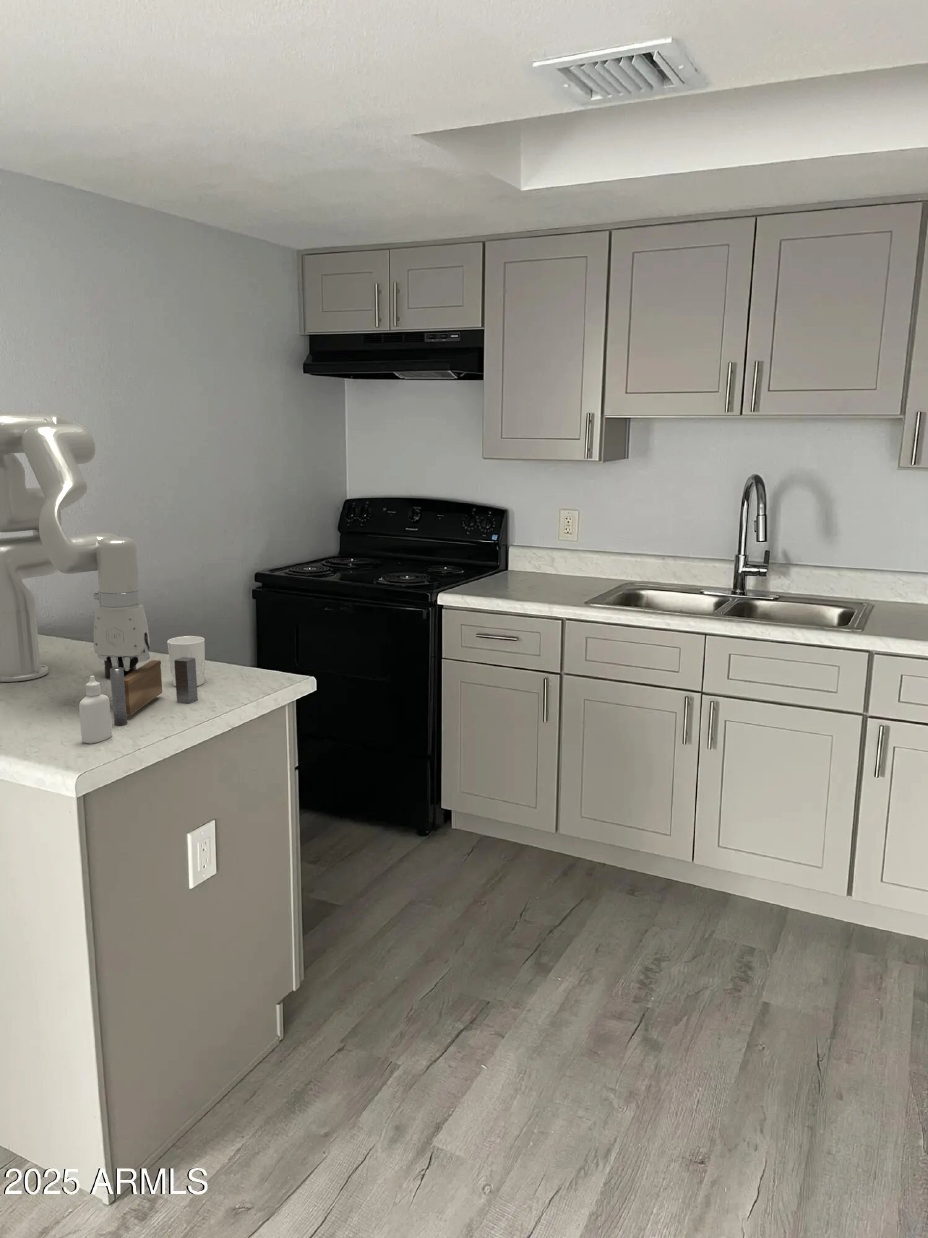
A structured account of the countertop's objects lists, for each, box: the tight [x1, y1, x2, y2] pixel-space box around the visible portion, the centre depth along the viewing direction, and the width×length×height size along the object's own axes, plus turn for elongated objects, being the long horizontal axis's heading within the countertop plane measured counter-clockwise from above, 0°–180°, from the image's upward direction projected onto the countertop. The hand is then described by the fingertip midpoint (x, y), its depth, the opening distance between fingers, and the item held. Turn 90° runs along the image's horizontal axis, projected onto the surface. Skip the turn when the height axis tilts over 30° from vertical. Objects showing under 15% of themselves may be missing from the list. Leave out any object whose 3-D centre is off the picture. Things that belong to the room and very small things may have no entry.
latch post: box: [174, 657, 199, 704], centre depth 200 cm, size 3×3×9 cm
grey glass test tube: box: [110, 667, 128, 727], centre depth 185 cm, size 2×2×11 cm
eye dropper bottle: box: [78, 675, 113, 744], centre depth 176 cm, size 4×6×12 cm
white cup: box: [166, 635, 206, 687], centre depth 213 cm, size 8×8×10 cm
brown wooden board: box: [124, 659, 163, 716], centre depth 195 cm, size 2×16×7 cm, turn 175°
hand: (125, 687), depth 196 cm, fingers closed
